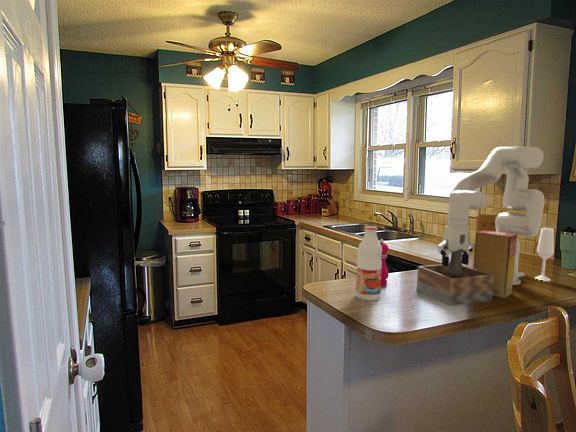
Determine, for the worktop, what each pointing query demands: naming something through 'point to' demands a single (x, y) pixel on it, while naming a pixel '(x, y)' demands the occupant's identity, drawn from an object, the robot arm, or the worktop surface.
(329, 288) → the worktop surface
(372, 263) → the fruit juice
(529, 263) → the worktop surface
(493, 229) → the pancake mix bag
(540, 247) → the champagne flute
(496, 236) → the food packaging
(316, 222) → the worktop surface
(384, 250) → the pepper mill
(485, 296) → the open box
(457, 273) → the candle holder
